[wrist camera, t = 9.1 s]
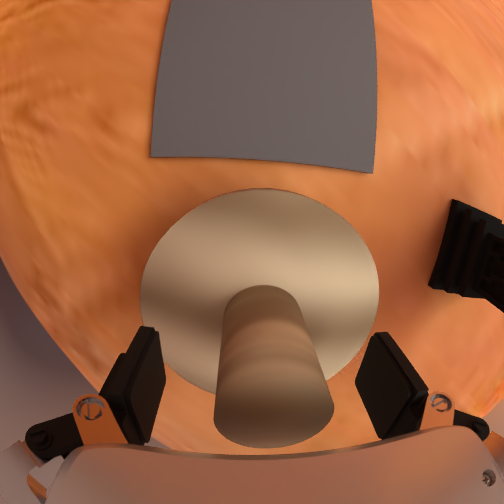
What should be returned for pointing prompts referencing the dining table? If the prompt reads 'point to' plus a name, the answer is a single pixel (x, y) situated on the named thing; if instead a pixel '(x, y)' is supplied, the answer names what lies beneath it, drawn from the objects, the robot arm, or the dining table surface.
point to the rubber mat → (268, 82)
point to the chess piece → (471, 255)
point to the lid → (261, 309)
